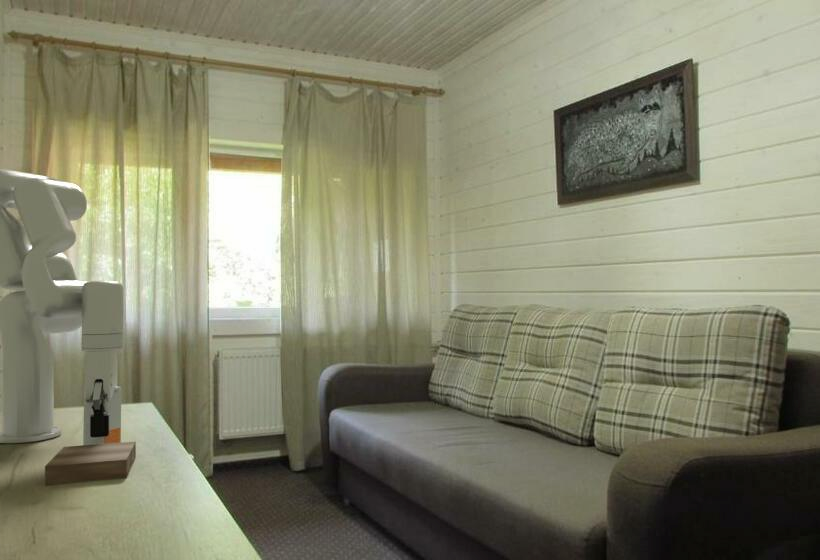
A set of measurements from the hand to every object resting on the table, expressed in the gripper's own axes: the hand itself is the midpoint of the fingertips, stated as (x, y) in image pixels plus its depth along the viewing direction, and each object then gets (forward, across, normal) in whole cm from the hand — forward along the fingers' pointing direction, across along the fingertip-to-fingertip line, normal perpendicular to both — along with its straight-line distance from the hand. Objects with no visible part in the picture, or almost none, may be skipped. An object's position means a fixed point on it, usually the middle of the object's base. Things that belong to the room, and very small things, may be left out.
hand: (102, 431), depth 126 cm
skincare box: (+4, 0, 0) cm, 4 cm away
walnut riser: (+3, +17, +1) cm, 17 cm away
